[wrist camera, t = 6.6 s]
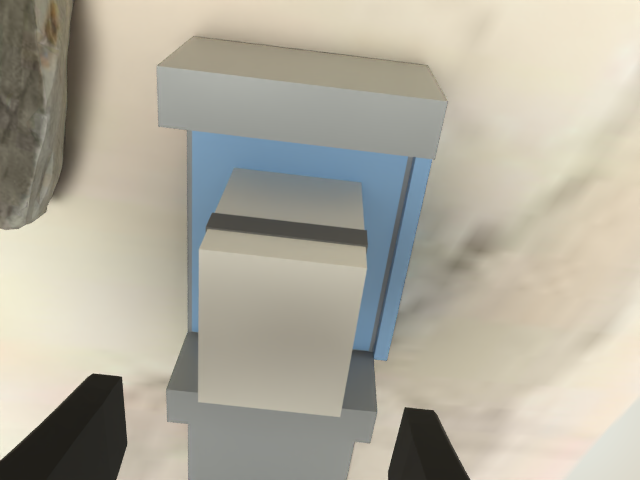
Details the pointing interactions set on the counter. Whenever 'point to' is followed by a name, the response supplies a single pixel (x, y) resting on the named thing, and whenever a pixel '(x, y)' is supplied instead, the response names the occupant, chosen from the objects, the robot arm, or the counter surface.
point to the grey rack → (306, 160)
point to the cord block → (280, 292)
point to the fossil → (31, 105)
